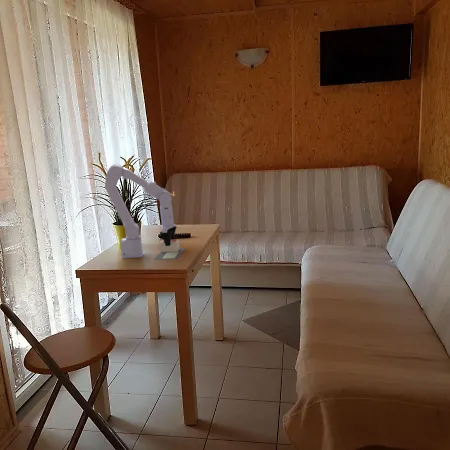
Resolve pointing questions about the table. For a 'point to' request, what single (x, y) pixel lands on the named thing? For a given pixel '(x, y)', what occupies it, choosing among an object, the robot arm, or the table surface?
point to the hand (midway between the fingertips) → (169, 243)
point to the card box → (172, 248)
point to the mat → (169, 255)
